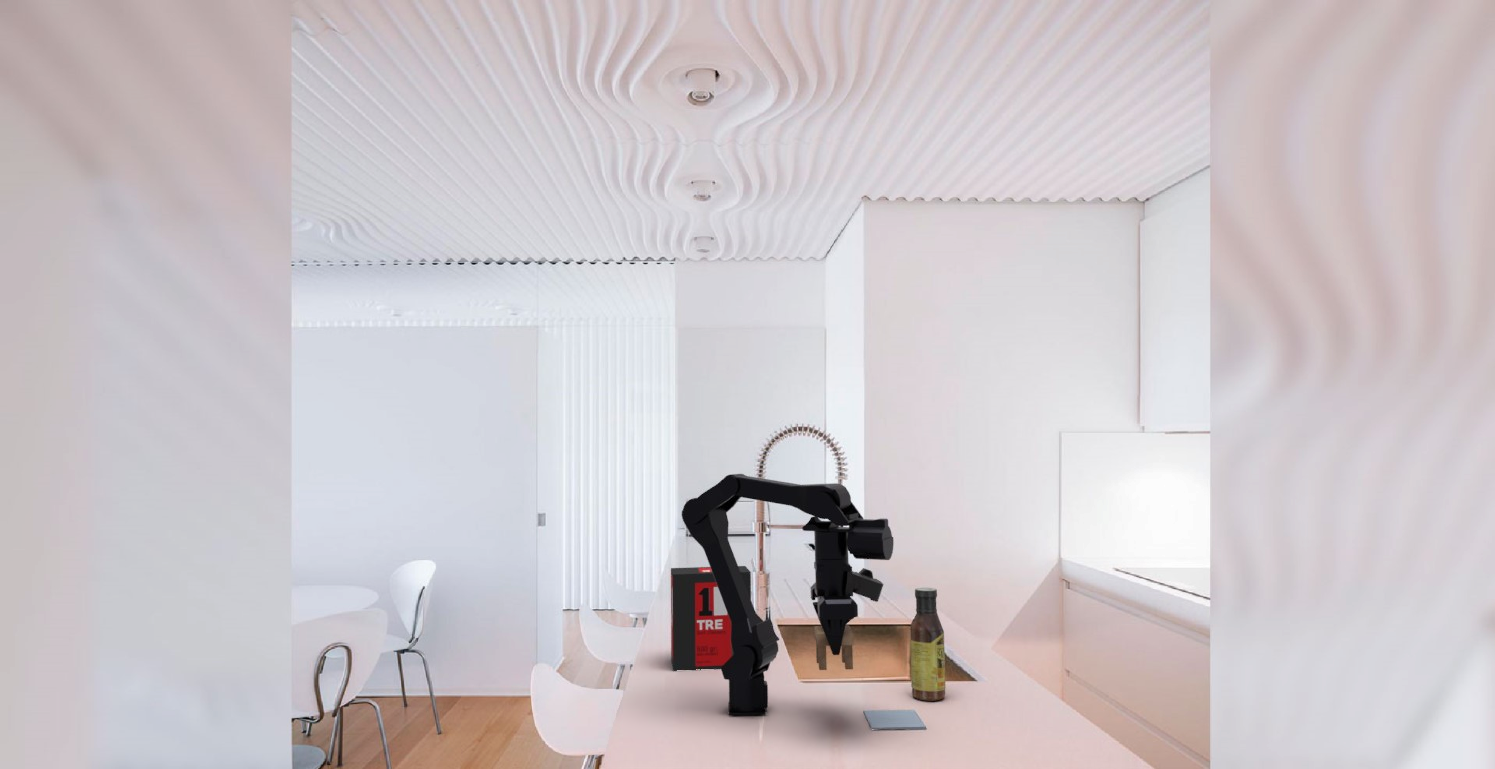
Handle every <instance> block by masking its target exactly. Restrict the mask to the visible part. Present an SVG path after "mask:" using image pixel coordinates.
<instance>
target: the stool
mask: <svg viewBox="0 0 1495 769" xmlns="http://www.w3.org/2000/svg"><path fill="white" fill-rule="evenodd" d="M814 639H815V640H814V641H815V648H816V650H815V654H816V660H815V661H816V664H818V669H819V671H827V669H828V668H827V667H828V666H827V664H828V662H827V646H828V647H830V646H829V643H828V641H827V638H826V635H825V633H824V630H823V628H822V626H821V625H815V626H814ZM854 644H855V642H854V631H853V630H852V628H851V626H850V625H847V624H846V626H845V630H844V635H843V639H842V644H841V662H842V663H844V668H845V670H854V659H853V657H854V656H853V655H854V653H853V646H854Z"/></svg>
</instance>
